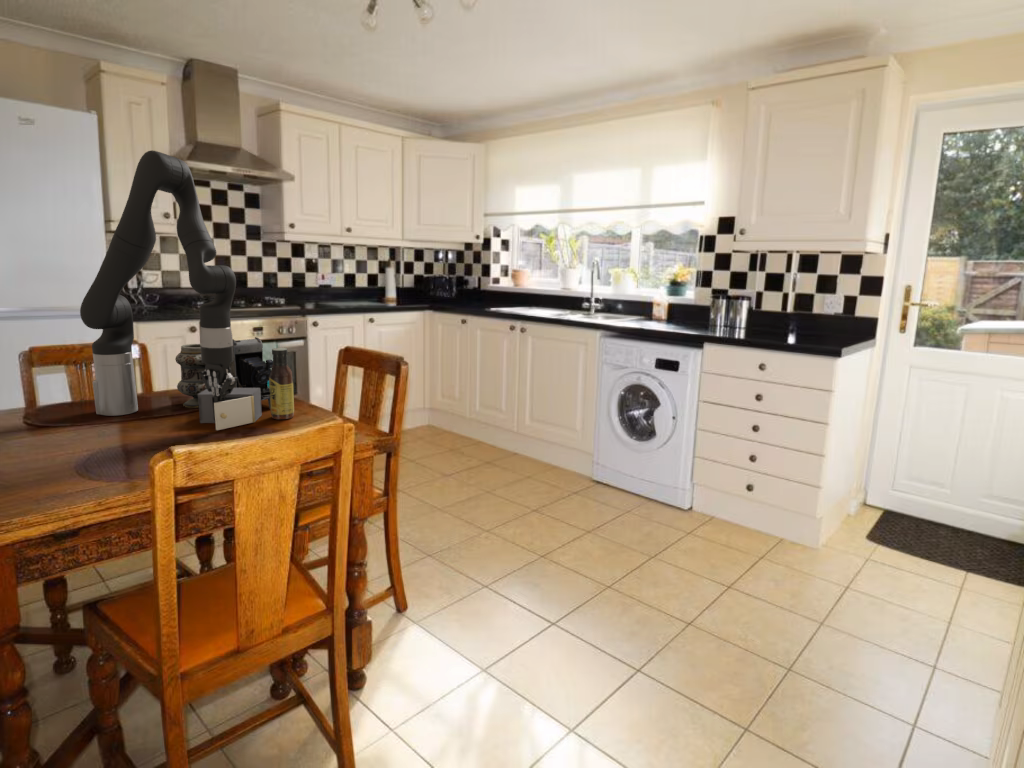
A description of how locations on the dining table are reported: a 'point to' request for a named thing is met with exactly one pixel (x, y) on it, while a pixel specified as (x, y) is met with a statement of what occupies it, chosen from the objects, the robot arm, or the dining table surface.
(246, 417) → the door
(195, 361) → the apothecary jar
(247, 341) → the vintage camera
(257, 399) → the case
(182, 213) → the robot arm
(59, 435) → the dining table surface
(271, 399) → the sauce bottle
